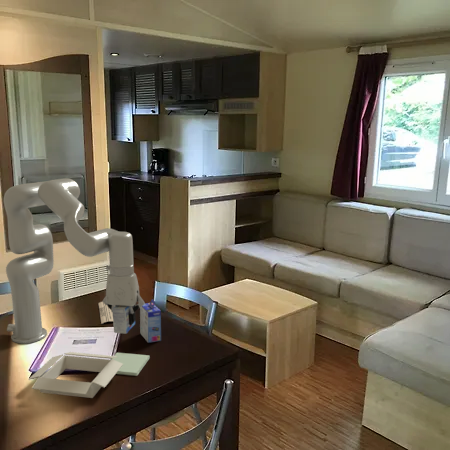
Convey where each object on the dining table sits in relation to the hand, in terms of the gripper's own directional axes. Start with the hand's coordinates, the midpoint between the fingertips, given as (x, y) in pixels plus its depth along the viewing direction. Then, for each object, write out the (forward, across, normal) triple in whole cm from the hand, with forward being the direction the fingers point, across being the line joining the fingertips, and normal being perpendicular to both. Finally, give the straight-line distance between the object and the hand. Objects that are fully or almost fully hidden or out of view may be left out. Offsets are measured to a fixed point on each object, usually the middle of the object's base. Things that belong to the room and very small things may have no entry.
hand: (124, 322), depth 157 cm
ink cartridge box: (+16, +1, +22) cm, 27 cm away
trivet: (+15, 0, 0) cm, 15 cm away
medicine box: (+2, 0, 0) cm, 2 cm away
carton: (+15, -11, -13) cm, 23 cm away
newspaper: (+16, -26, +41) cm, 51 cm away
